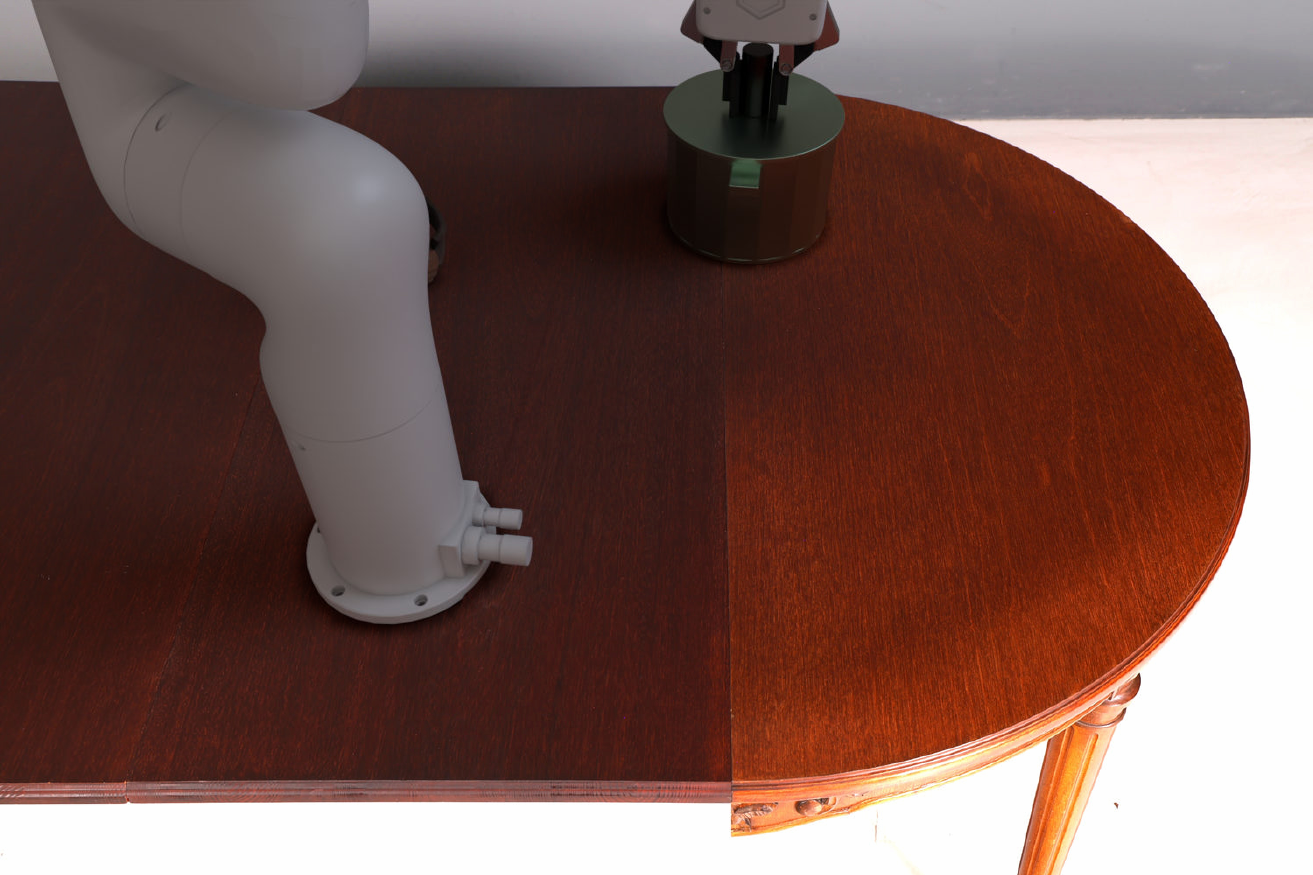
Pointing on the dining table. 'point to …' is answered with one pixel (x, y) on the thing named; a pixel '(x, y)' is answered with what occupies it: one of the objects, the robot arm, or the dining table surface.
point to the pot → (747, 204)
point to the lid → (753, 114)
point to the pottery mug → (435, 240)
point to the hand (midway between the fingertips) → (754, 108)
